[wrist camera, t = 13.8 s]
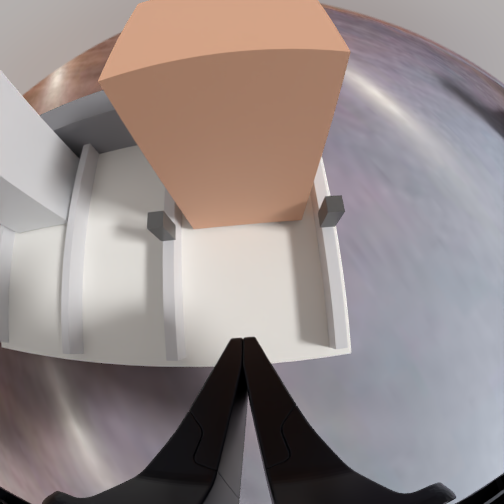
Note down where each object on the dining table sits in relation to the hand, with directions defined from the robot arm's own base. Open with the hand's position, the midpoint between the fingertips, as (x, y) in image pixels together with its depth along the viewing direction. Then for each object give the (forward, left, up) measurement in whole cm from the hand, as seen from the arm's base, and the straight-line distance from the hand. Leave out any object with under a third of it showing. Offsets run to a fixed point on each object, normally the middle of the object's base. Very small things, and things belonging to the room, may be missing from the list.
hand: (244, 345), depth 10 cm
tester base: (+10, +1, -6) cm, 12 cm away
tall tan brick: (+7, -6, -5) cm, 10 cm away
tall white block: (+17, +5, -5) cm, 18 cm away
